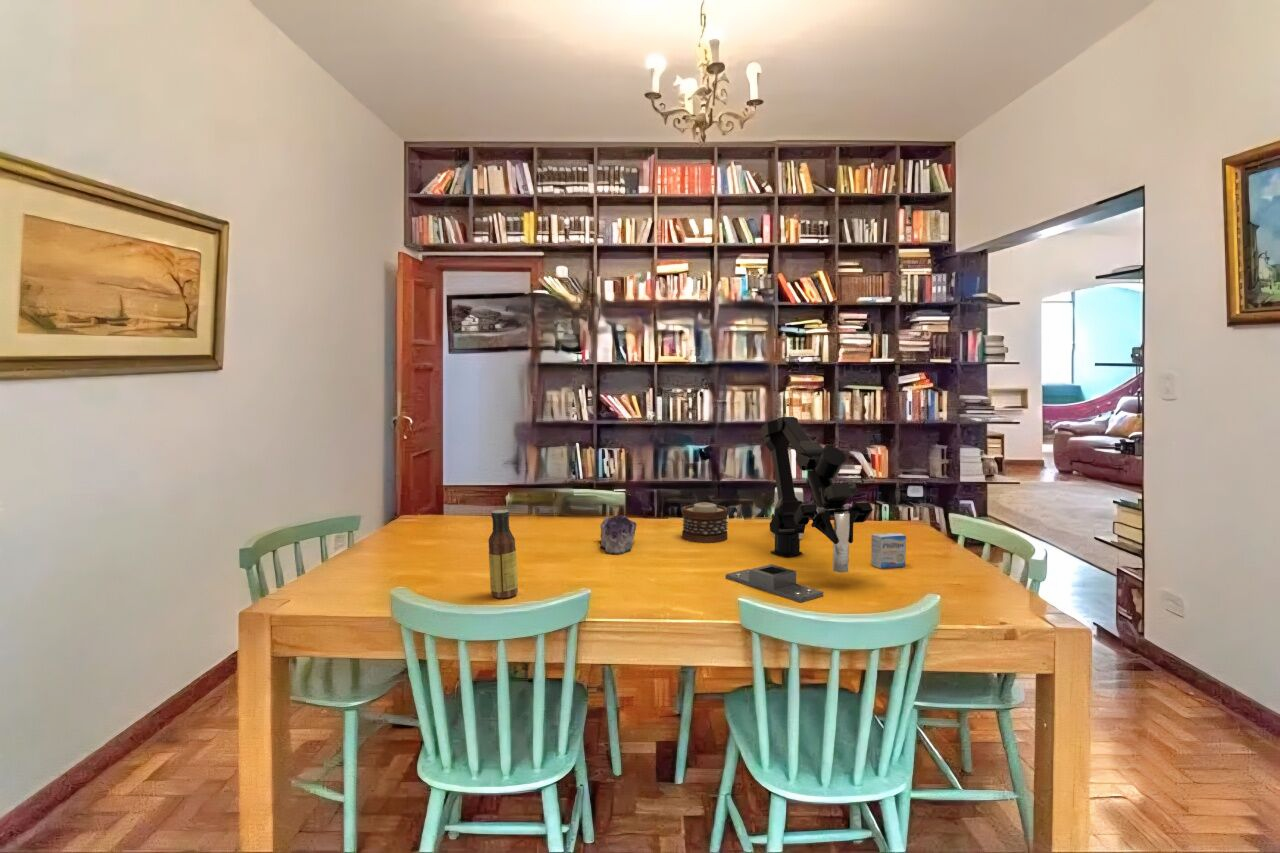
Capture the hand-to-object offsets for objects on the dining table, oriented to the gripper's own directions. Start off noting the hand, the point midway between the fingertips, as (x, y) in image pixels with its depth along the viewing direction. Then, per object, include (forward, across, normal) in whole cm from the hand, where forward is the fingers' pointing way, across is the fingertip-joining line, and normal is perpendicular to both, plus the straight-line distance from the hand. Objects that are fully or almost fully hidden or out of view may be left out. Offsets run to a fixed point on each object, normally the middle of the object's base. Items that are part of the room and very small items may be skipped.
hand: (844, 542), depth 169 cm
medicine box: (-3, +22, +20) cm, 30 cm away
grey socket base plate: (+5, -16, +11) cm, 20 cm away
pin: (+4, 0, +6) cm, 7 cm away
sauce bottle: (+1, -80, +16) cm, 81 cm away
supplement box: (-31, +10, +47) cm, 57 cm away
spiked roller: (-32, -17, +49) cm, 61 cm away
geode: (-28, -46, +45) cm, 70 cm away
